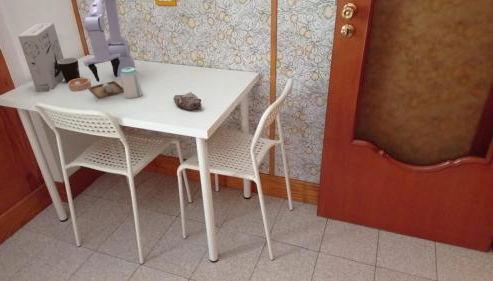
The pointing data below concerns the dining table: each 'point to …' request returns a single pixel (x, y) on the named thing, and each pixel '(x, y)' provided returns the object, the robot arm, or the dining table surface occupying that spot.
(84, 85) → the bowl
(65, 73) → the coffee mug
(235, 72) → the dining table surface
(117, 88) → the tray
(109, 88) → the pebble
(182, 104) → the mineral rock
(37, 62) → the cereal box
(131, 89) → the can
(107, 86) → the white ball
